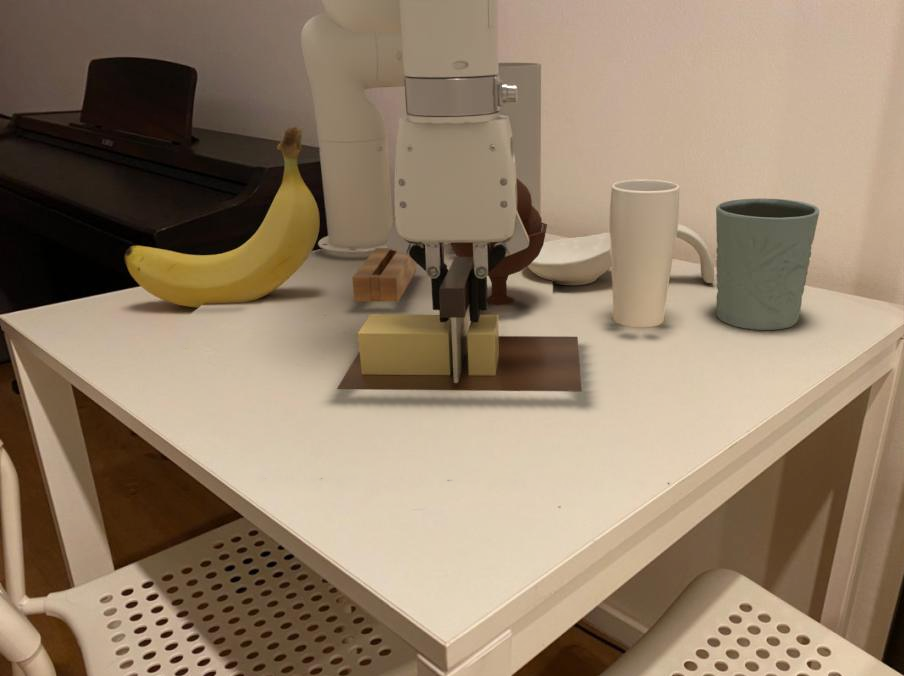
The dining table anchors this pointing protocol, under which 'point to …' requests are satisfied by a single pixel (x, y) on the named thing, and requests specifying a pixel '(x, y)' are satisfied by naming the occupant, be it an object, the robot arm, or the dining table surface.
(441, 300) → the knife
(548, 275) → the spoon rest
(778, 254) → the green cup
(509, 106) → the cylinder vase
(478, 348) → the butter slice
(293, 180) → the banana
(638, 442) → the dining table surface
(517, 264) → the ice cream bowl
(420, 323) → the butter
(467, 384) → the board
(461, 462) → the dining table surface
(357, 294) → the knife block
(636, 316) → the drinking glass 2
